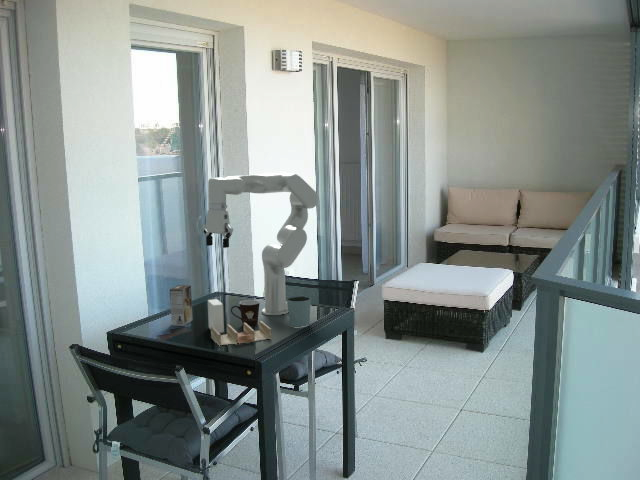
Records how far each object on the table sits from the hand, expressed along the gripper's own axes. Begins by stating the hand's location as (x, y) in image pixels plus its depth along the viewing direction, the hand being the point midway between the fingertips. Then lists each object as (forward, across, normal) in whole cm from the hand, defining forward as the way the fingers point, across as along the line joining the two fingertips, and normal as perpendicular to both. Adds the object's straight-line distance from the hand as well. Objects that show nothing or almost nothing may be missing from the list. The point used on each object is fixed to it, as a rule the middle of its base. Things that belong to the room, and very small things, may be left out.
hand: (217, 246), depth 298 cm
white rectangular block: (+34, -7, +9) cm, 36 cm away
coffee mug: (+34, -13, -4) cm, 36 cm away
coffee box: (+34, +13, +9) cm, 38 cm away
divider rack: (+34, -25, +13) cm, 44 cm away
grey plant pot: (+33, -33, -15) cm, 49 cm away
